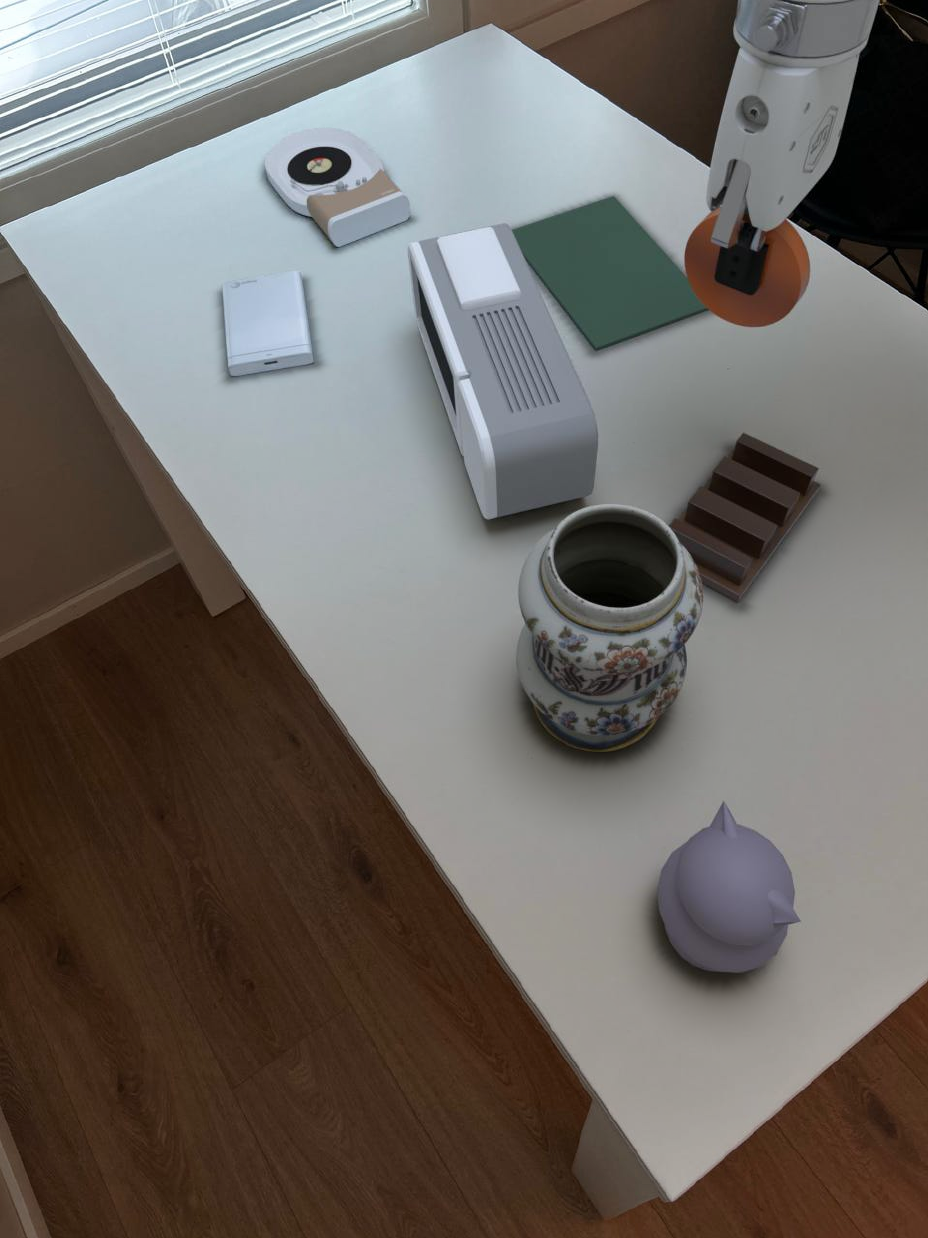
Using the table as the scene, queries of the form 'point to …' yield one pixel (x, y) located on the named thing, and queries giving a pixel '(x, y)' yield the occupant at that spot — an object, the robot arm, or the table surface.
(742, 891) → the cat figurine
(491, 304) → the alarm clock
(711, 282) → the disc
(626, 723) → the apothecary jar
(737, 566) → the rack
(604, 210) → the mat
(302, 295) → the hard drive
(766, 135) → the robot arm
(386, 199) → the record player
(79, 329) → the table surface
